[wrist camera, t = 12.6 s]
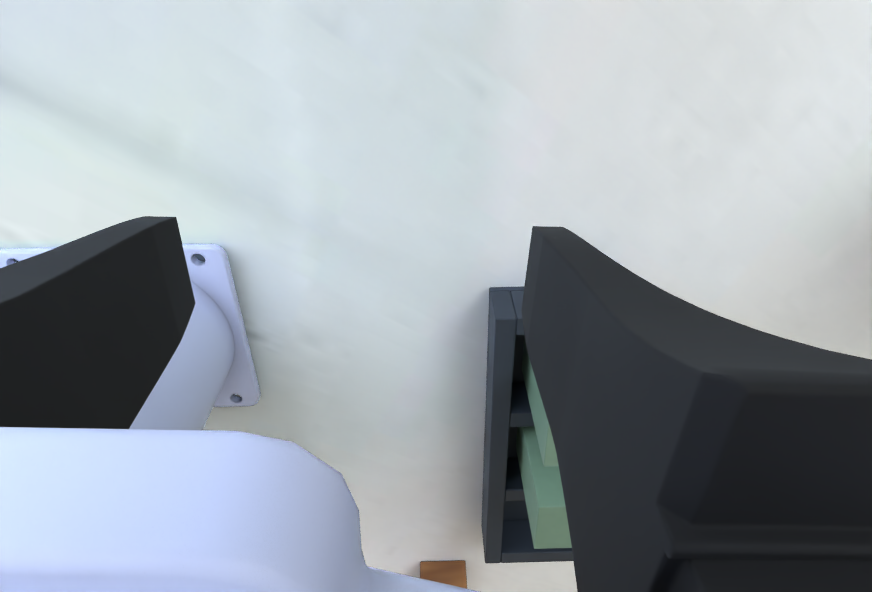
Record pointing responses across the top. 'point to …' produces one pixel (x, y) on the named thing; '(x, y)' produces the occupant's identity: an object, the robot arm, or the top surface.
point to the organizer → (507, 438)
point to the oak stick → (445, 572)
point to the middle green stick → (542, 494)
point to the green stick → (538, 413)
